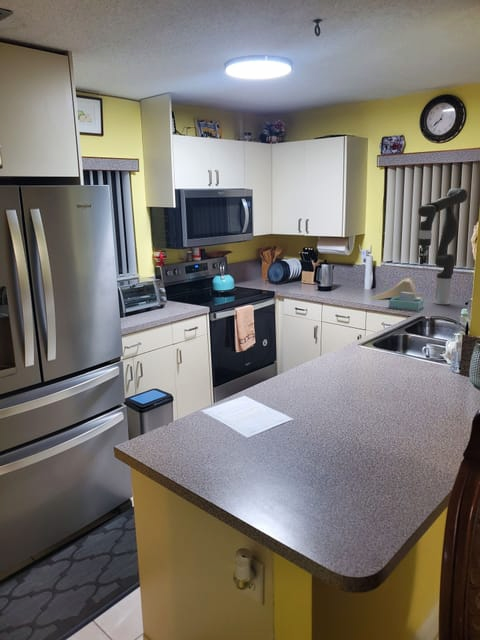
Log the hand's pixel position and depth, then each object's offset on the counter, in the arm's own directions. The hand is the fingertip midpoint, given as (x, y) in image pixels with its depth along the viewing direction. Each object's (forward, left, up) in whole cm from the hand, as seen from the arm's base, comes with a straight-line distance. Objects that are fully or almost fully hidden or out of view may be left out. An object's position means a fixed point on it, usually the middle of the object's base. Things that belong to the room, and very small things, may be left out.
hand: (422, 263), depth 310 cm
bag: (-25, -21, -29) cm, 43 cm away
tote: (+6, -7, -28) cm, 29 cm away
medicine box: (+6, -7, -27) cm, 29 cm away
